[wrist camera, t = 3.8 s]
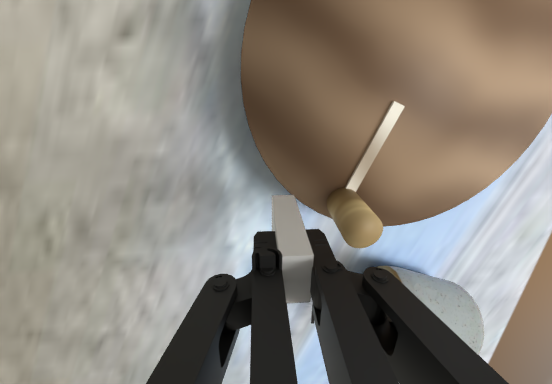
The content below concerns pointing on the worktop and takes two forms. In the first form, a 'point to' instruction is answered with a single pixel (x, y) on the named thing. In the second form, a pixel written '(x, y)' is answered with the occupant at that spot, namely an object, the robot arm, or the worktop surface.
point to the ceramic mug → (446, 304)
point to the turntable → (394, 101)
